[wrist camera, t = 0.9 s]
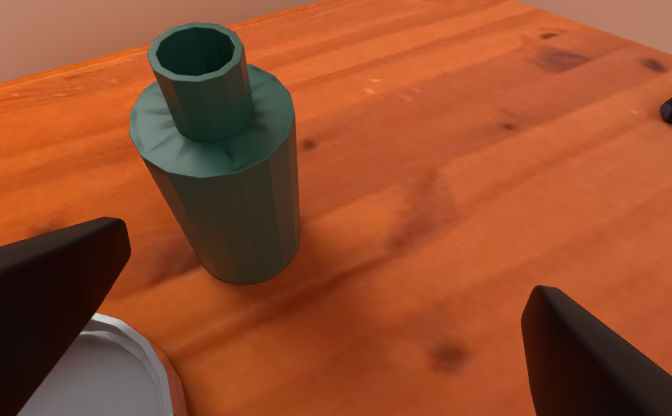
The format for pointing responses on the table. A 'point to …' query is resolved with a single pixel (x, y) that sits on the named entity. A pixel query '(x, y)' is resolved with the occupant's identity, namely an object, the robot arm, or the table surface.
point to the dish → (109, 376)
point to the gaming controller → (666, 110)
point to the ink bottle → (221, 151)
